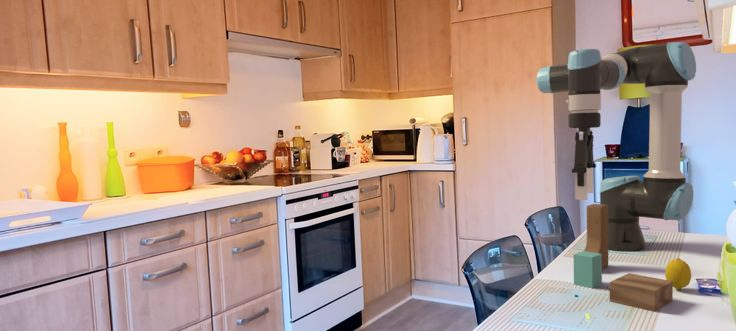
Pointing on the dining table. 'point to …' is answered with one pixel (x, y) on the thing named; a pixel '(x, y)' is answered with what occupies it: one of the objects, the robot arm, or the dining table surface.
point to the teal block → (587, 269)
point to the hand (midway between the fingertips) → (584, 196)
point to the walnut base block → (641, 292)
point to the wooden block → (598, 231)
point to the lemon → (678, 273)
